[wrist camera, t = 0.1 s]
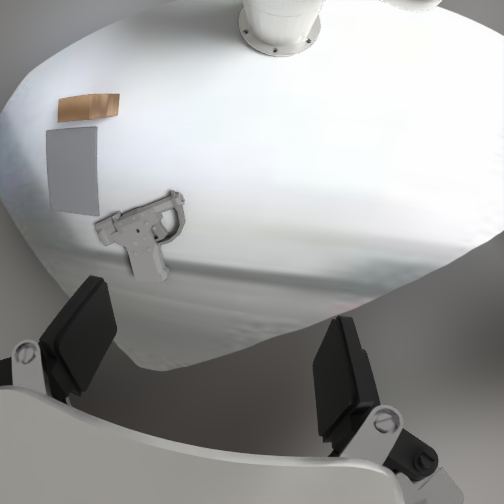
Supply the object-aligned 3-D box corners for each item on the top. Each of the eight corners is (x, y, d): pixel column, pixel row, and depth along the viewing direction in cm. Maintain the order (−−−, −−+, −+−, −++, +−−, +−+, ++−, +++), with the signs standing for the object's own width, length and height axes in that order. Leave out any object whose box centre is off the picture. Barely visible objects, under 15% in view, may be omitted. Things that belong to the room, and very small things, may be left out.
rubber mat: (47, 130, 40) (46, 130, 39) (97, 126, 40) (95, 126, 40) (53, 209, 49) (51, 210, 48) (99, 215, 49) (98, 216, 48)
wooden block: (89, 96, 37) (58, 99, 29) (119, 93, 37) (90, 94, 30) (87, 116, 39) (57, 122, 31) (117, 115, 39) (89, 119, 32)
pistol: (128, 291, 54) (91, 226, 47) (133, 283, 57) (99, 220, 50) (210, 270, 50) (174, 190, 43) (213, 262, 53) (179, 185, 46)
